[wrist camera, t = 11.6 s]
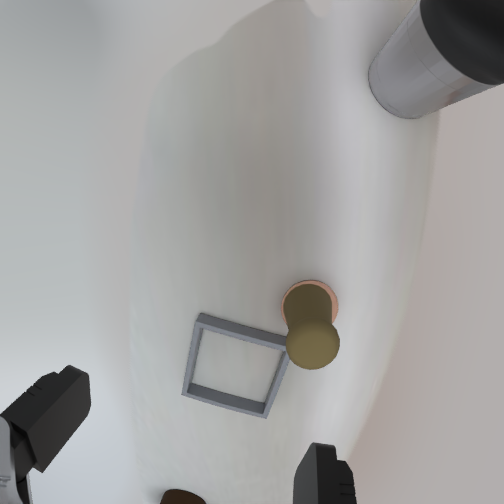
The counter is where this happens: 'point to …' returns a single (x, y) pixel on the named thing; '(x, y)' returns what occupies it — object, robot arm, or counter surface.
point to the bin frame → (242, 334)
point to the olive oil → (180, 498)
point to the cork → (310, 327)
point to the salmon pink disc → (324, 286)
